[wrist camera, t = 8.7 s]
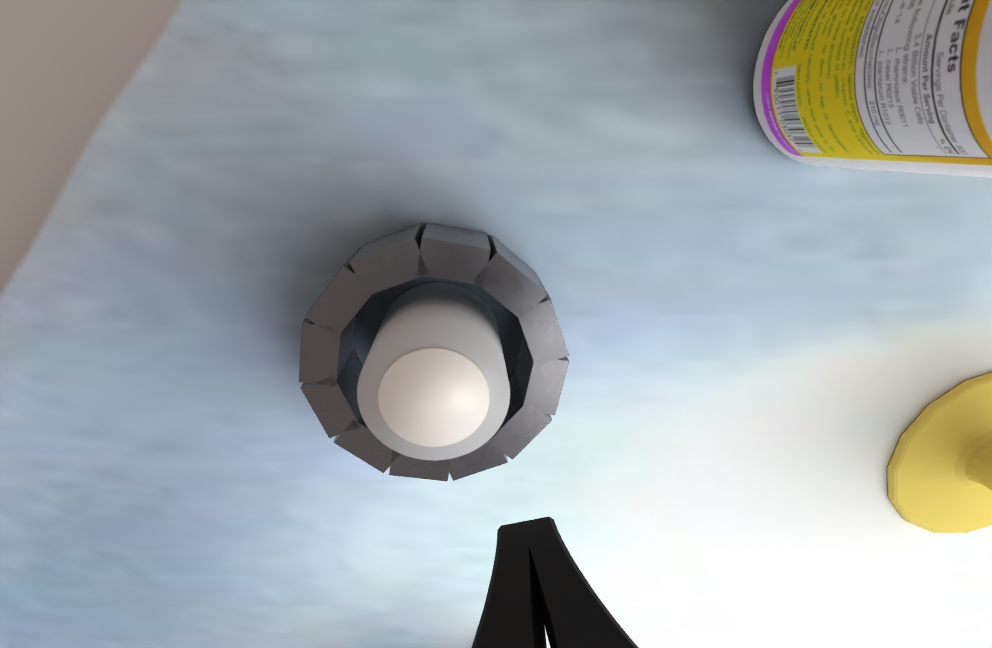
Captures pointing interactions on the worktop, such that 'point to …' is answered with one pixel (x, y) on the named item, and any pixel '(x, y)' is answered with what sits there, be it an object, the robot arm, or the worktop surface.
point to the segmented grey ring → (449, 257)
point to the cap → (435, 374)
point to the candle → (947, 462)
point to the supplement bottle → (880, 85)
